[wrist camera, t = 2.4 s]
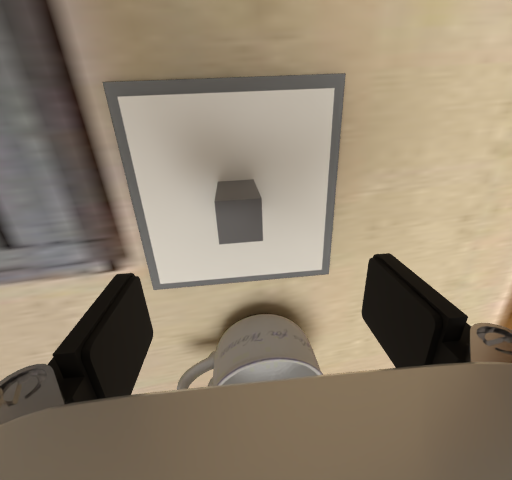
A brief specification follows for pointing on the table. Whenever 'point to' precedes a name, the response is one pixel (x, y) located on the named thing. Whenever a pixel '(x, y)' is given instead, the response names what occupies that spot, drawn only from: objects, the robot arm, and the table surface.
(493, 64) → the table surface
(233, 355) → the teacup
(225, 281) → the mat
